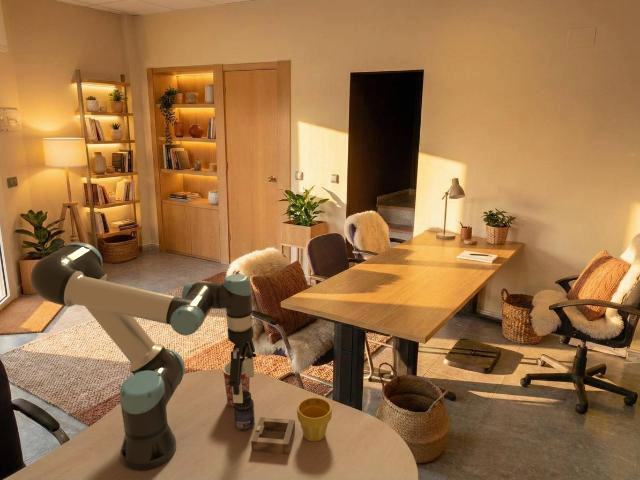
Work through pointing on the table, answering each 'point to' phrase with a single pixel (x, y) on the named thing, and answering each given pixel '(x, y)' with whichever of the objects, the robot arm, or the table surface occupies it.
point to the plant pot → (314, 417)
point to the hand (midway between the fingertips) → (244, 388)
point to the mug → (229, 392)
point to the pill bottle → (244, 413)
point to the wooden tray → (273, 444)
